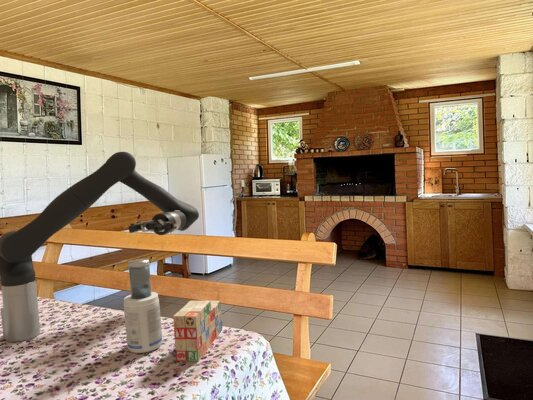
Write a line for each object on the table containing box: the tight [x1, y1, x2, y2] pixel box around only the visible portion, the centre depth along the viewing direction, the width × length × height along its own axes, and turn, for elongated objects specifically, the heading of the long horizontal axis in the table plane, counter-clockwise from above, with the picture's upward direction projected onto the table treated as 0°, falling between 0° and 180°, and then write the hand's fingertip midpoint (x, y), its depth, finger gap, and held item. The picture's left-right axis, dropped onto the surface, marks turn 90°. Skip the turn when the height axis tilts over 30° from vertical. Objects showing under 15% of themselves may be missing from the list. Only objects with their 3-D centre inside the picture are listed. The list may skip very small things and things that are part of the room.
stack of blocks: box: [173, 300, 223, 363], centre depth 111 cm, size 21×6×12 cm, turn 170°
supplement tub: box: [123, 291, 163, 354], centre depth 111 cm, size 10×10×15 cm
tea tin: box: [127, 258, 152, 299], centre depth 110 cm, size 6×6×10 cm
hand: (142, 229), depth 124 cm, fingers open, 8 cm apart
